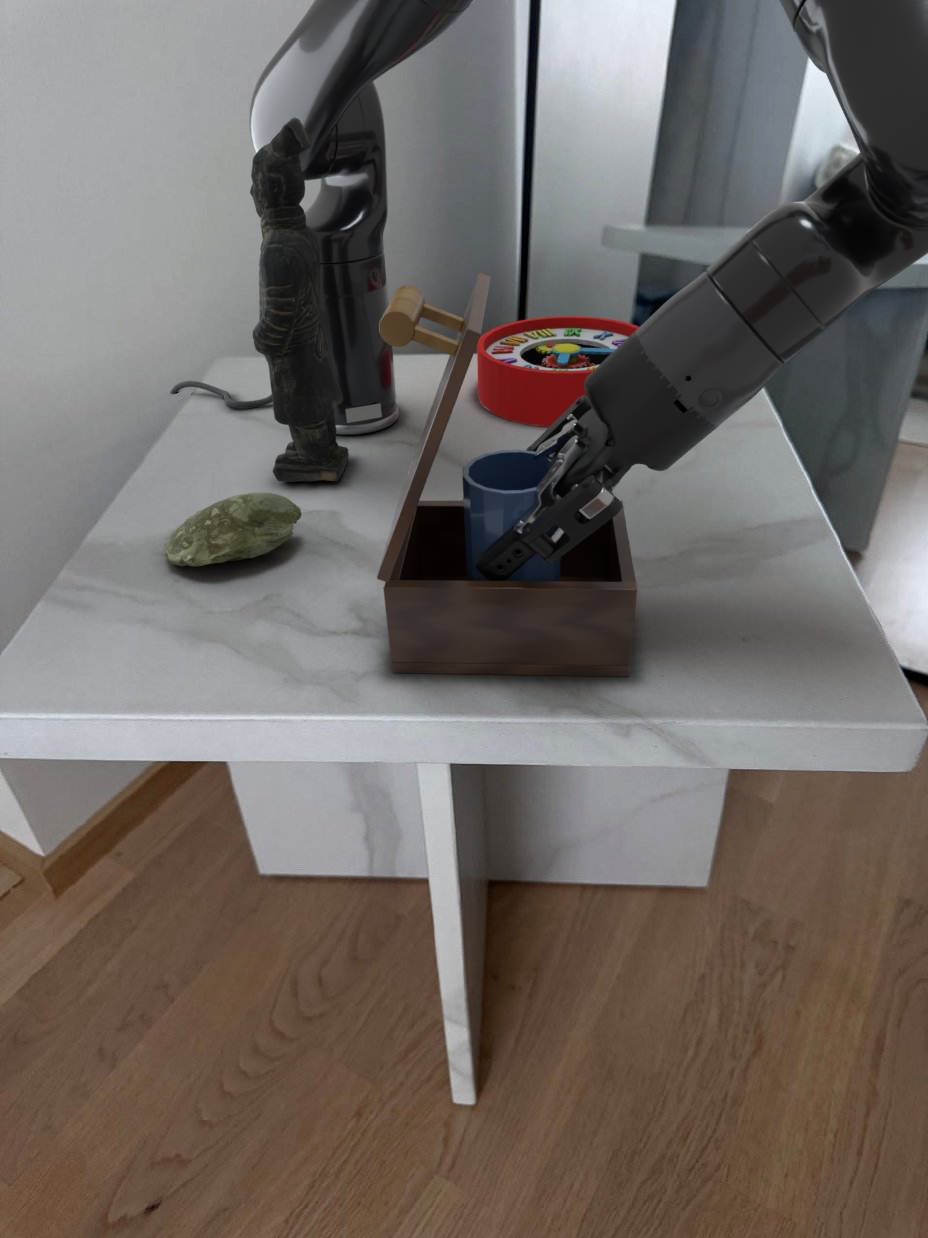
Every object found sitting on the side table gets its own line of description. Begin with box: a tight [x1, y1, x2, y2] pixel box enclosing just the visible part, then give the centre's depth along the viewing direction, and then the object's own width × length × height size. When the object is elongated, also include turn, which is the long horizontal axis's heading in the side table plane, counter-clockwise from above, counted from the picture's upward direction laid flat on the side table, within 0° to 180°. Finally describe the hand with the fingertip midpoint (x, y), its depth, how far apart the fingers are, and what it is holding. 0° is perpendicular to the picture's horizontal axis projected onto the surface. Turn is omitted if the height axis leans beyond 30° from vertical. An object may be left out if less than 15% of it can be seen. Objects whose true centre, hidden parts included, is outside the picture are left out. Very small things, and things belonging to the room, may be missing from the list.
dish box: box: [382, 500, 638, 677], centre depth 60 cm, size 16×12×7 cm
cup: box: [461, 449, 562, 581], centre depth 58 cm, size 6×6×10 cm
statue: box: [249, 117, 350, 483], centre depth 76 cm, size 10×7×30 cm
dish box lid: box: [376, 272, 492, 583], centre depth 54 cm, size 17×12×5 cm
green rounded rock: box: [164, 491, 302, 567], centre depth 72 cm, size 10×7×10 cm
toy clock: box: [476, 315, 640, 428], centre depth 97 cm, size 20×6×20 cm
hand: (488, 546), depth 59 cm, fingers closed on cup, 6 cm apart
